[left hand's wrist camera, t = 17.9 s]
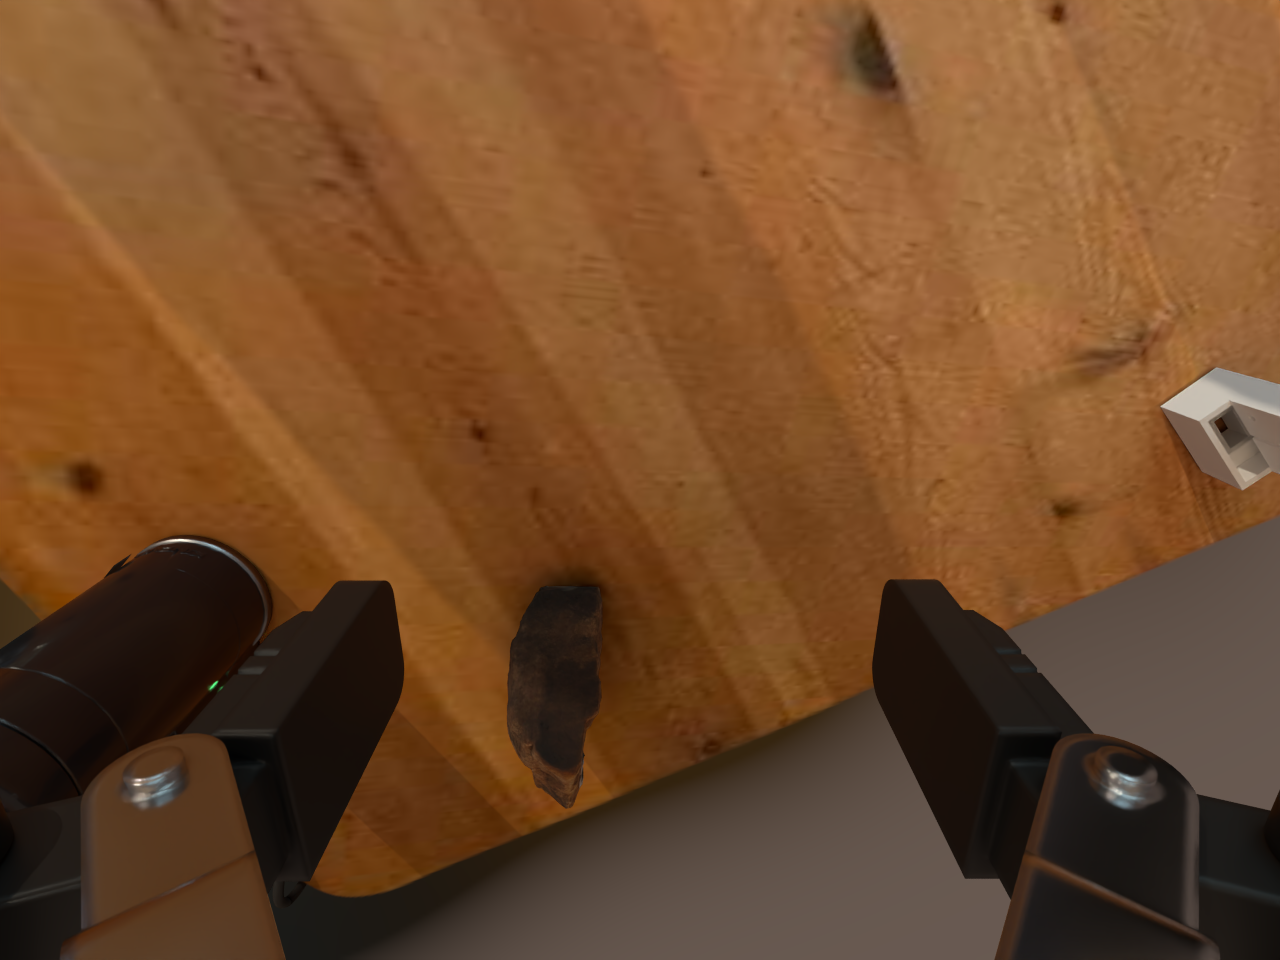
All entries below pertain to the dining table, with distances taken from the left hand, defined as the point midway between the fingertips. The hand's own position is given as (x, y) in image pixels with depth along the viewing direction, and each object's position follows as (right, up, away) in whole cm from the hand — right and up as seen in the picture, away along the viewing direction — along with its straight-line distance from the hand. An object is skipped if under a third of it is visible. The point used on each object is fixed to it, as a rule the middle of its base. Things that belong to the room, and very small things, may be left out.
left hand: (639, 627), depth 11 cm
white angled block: (+35, +6, +32) cm, 48 cm away
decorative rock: (-5, -9, +38) cm, 39 cm away
